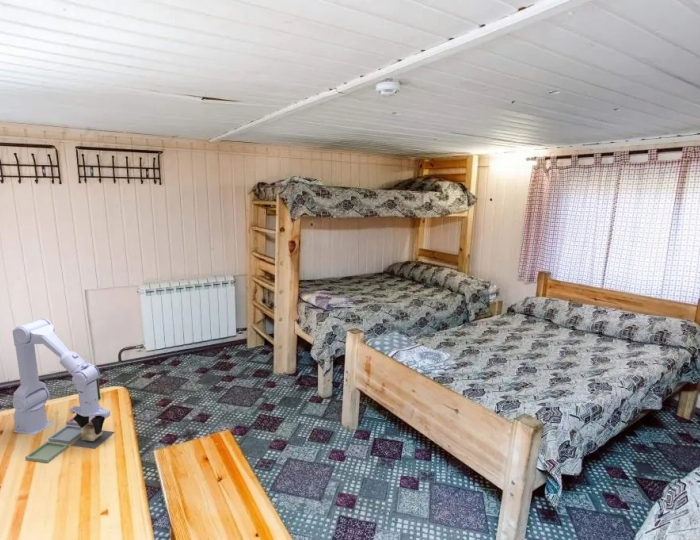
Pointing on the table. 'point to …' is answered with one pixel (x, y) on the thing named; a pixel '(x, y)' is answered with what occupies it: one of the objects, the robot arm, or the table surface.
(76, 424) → the tray far
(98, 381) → the soda can
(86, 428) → the letter cube
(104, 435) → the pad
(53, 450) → the tray near
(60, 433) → the tray mid
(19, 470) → the table surface
